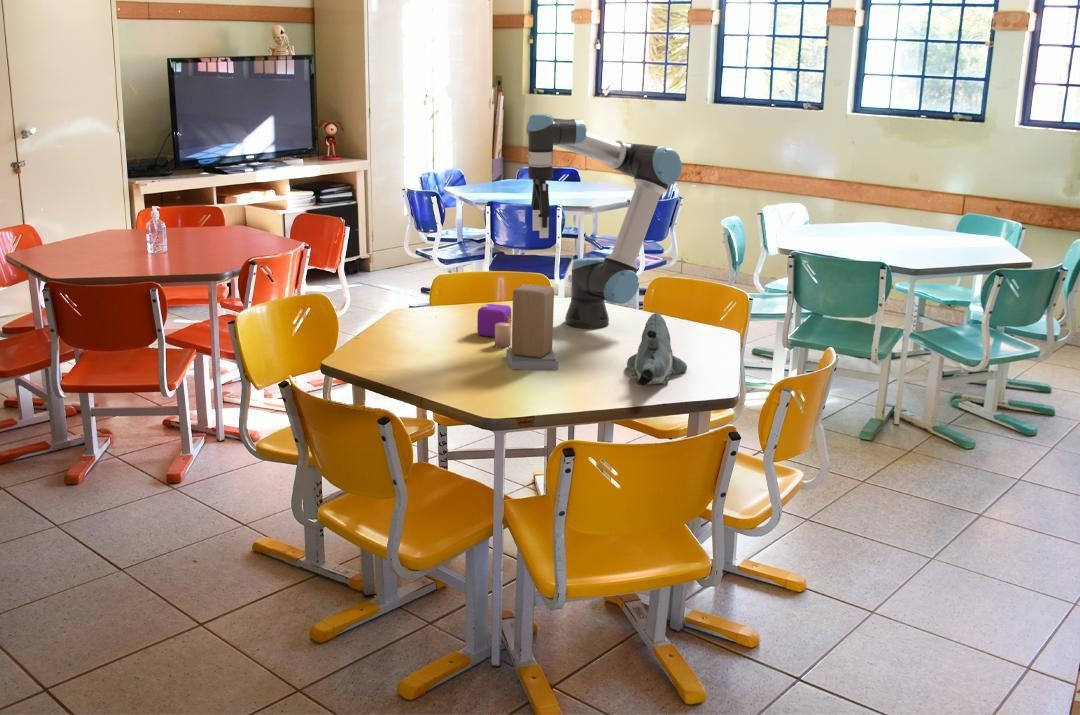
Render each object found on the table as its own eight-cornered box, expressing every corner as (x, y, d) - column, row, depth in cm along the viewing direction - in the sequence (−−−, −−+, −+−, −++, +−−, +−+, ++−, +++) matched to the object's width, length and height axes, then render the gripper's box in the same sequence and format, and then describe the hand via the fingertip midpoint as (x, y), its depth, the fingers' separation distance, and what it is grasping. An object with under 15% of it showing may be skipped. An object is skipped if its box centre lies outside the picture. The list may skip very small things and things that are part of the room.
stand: (551, 356, 324) (551, 347, 323) (557, 369, 310) (558, 359, 309) (506, 356, 322) (506, 347, 321) (510, 369, 309) (510, 359, 308)
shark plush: (691, 368, 316) (694, 315, 312) (654, 404, 281) (658, 345, 277) (635, 360, 322) (638, 309, 318) (592, 394, 288) (595, 337, 283)
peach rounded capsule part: (509, 343, 337) (510, 322, 335) (511, 347, 332) (511, 326, 330) (494, 343, 336) (494, 322, 335) (495, 347, 332) (495, 326, 330)
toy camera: (514, 329, 356) (514, 300, 353) (508, 339, 342) (509, 309, 340) (482, 327, 357) (482, 298, 354) (476, 337, 343) (476, 307, 341)
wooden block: (522, 347, 322) (523, 283, 316) (553, 351, 318) (555, 286, 313) (510, 355, 312) (511, 289, 307) (542, 359, 309) (543, 292, 304)
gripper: (522, 161, 334) (522, 227, 340) (535, 170, 311) (534, 241, 317) (545, 161, 335) (545, 227, 342) (560, 169, 312) (559, 240, 318)
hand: (540, 234), depth 329 cm, fingers open, 13 cm apart
